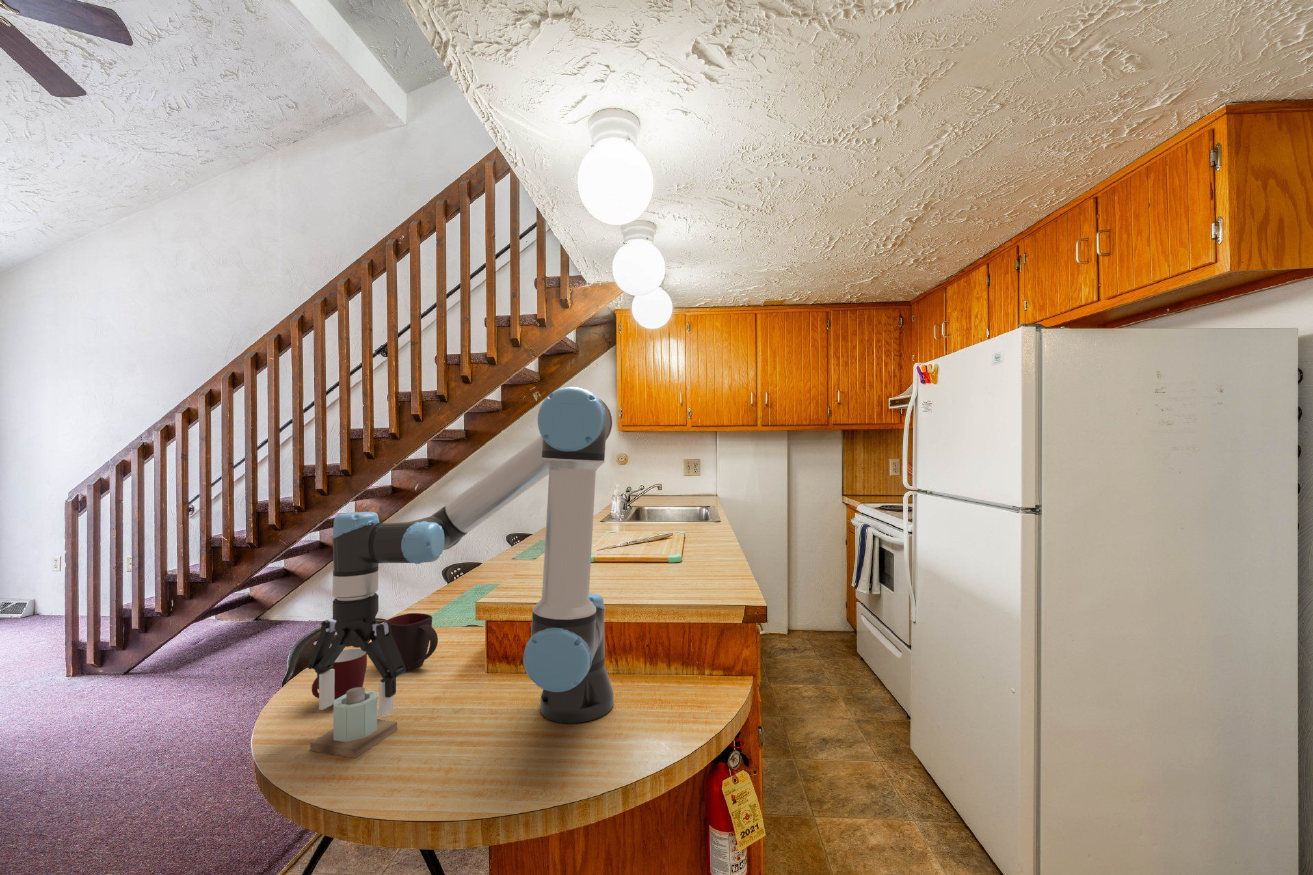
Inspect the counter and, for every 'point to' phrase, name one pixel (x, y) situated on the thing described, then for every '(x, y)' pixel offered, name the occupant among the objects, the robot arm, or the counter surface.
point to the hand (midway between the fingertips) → (356, 710)
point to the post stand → (356, 746)
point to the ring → (355, 718)
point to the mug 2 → (414, 638)
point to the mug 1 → (347, 672)
